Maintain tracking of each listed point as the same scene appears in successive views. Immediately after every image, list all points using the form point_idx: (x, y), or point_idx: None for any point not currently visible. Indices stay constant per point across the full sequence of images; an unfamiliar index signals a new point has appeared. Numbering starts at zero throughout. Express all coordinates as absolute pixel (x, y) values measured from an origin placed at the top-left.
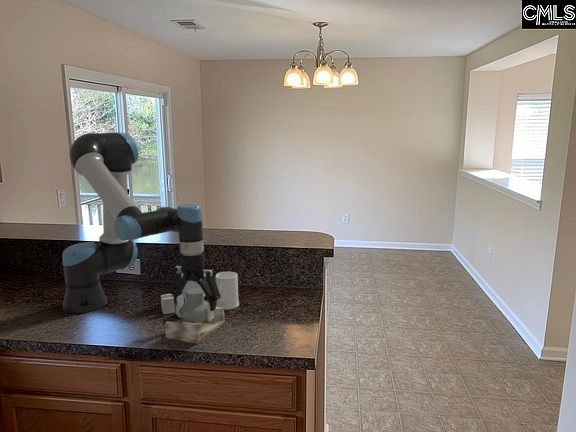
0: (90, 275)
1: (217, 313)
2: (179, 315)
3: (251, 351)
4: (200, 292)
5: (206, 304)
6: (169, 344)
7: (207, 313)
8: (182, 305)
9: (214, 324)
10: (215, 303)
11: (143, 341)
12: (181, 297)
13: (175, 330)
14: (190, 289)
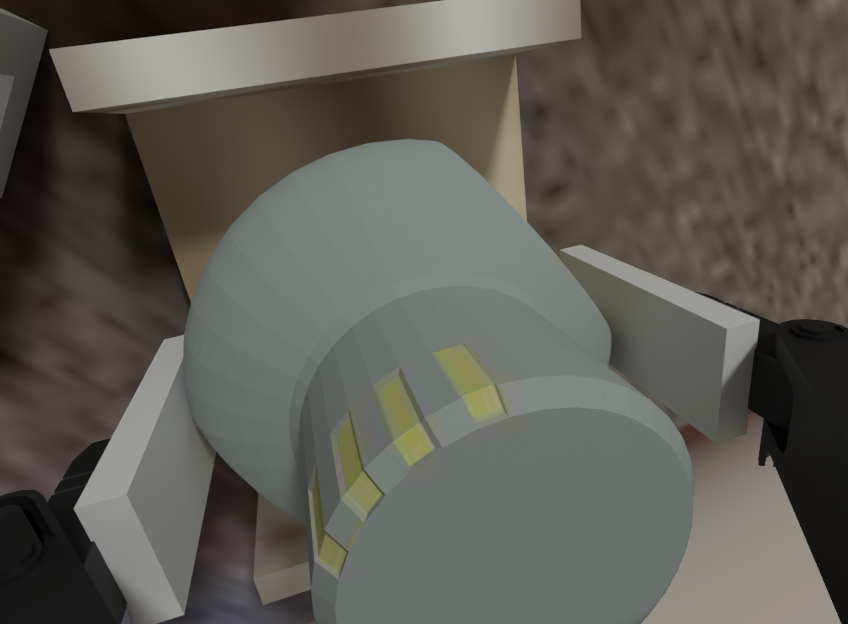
0: None
1: (483, 56)
2: None
3: (844, 307)
4: (686, 535)
5: (582, 319)
6: None
7: (609, 363)
8: (290, 514)
9: (494, 175)
10: (761, 317)
11: (177, 619)
12: (160, 522)
13: None
14: (368, 575)
